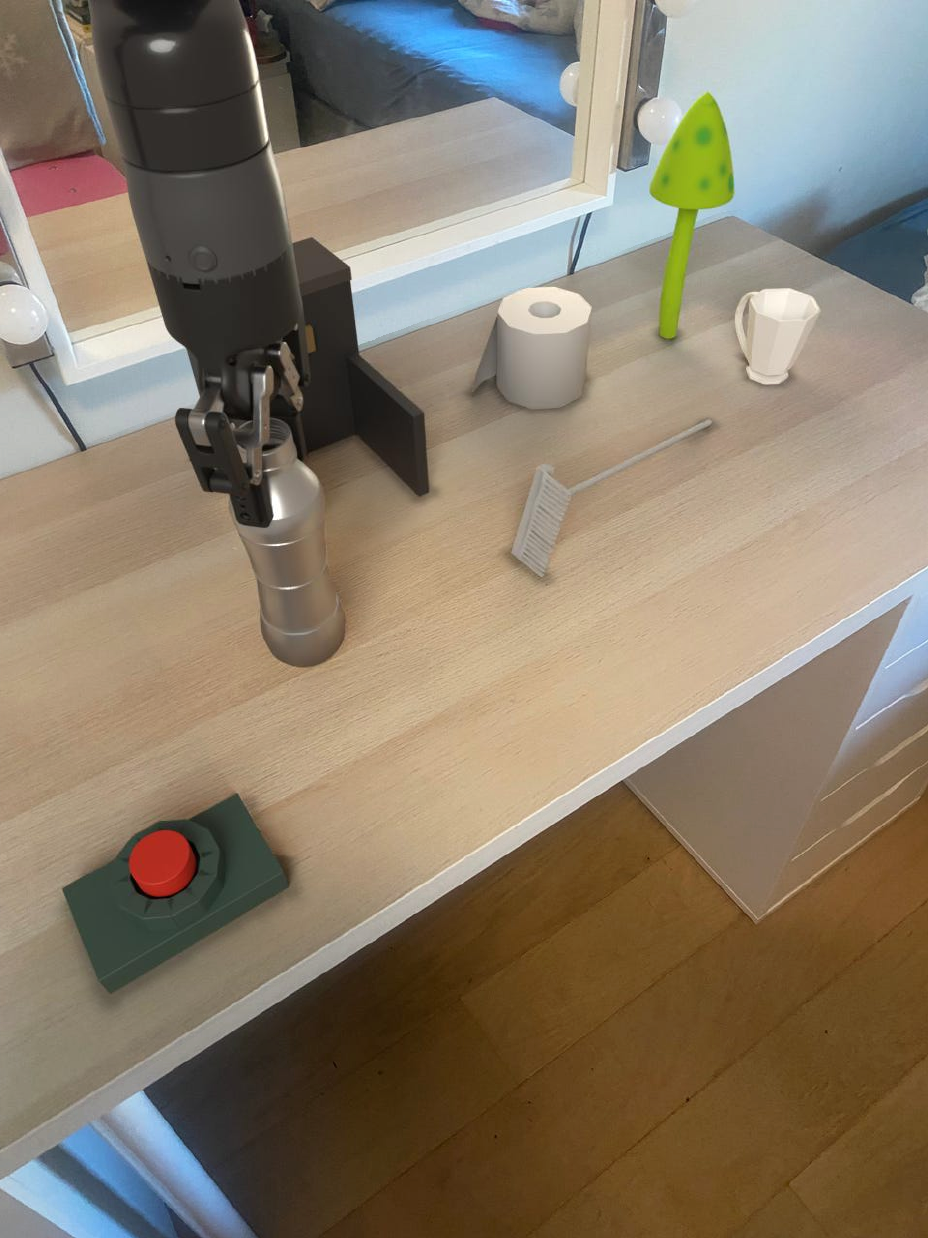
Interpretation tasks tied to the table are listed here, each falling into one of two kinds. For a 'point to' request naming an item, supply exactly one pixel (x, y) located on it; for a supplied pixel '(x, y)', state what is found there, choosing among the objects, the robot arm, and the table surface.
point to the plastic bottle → (293, 558)
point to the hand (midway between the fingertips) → (273, 489)
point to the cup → (775, 331)
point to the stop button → (162, 863)
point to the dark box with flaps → (348, 375)
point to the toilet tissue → (538, 347)
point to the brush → (543, 501)
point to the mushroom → (691, 192)
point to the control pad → (164, 926)
